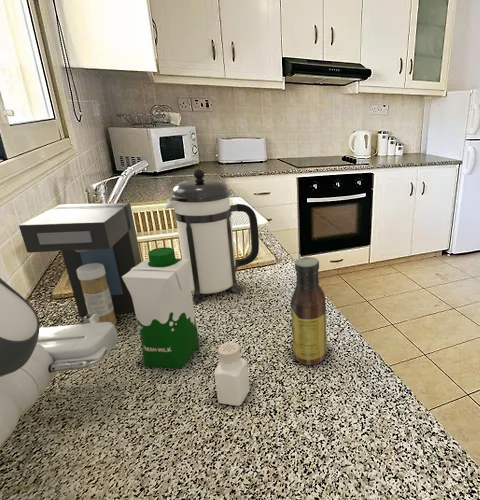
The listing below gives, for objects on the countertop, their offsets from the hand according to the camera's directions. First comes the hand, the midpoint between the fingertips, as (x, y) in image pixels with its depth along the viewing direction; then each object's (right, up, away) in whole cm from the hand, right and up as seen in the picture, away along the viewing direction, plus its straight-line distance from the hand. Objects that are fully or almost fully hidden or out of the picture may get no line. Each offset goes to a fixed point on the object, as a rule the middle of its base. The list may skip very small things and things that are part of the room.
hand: (62, 319), depth 63 cm
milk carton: (+15, -8, +7) cm, 19 cm away
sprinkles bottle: (-3, -4, +15) cm, 16 cm away
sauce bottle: (+41, -9, +7) cm, 42 cm away
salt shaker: (+30, -12, -3) cm, 32 cm away
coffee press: (+15, +2, +32) cm, 36 cm away
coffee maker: (-3, -4, +16) cm, 17 cm away
